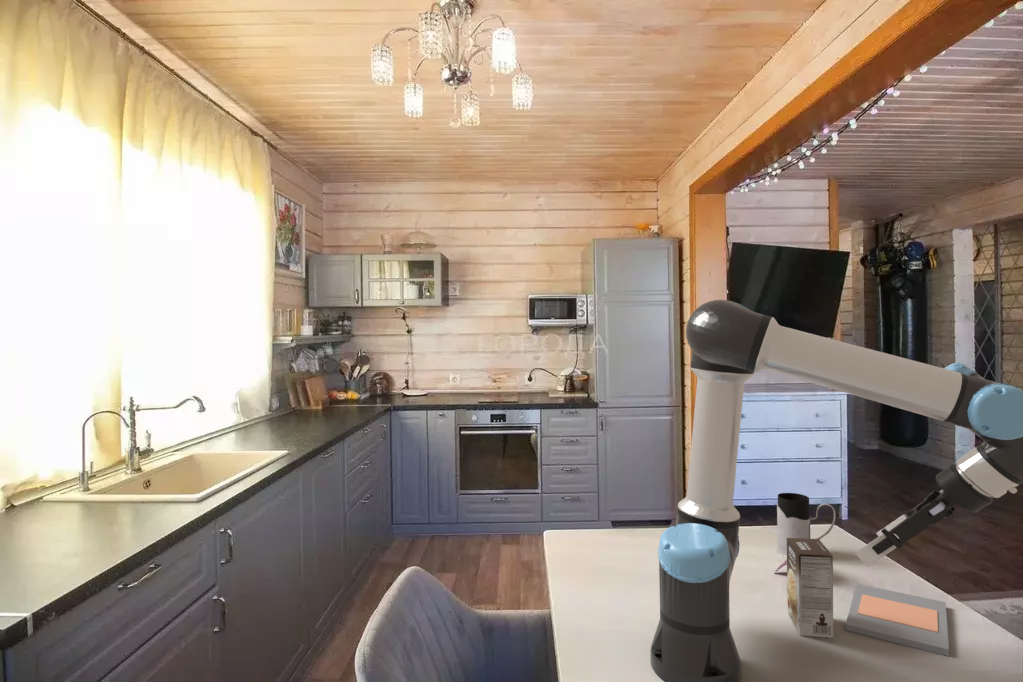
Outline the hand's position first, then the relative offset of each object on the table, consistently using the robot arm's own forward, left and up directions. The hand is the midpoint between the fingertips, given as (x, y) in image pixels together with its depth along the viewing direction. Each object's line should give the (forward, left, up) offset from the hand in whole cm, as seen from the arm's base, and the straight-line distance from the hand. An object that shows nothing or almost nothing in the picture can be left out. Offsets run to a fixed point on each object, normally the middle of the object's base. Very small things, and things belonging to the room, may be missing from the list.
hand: (872, 548), depth 105 cm
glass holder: (+42, +18, -18) cm, 49 cm away
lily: (+27, +17, -18) cm, 37 cm away
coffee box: (+2, +11, -18) cm, 21 cm away
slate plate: (+15, -3, -18) cm, 24 cm away
